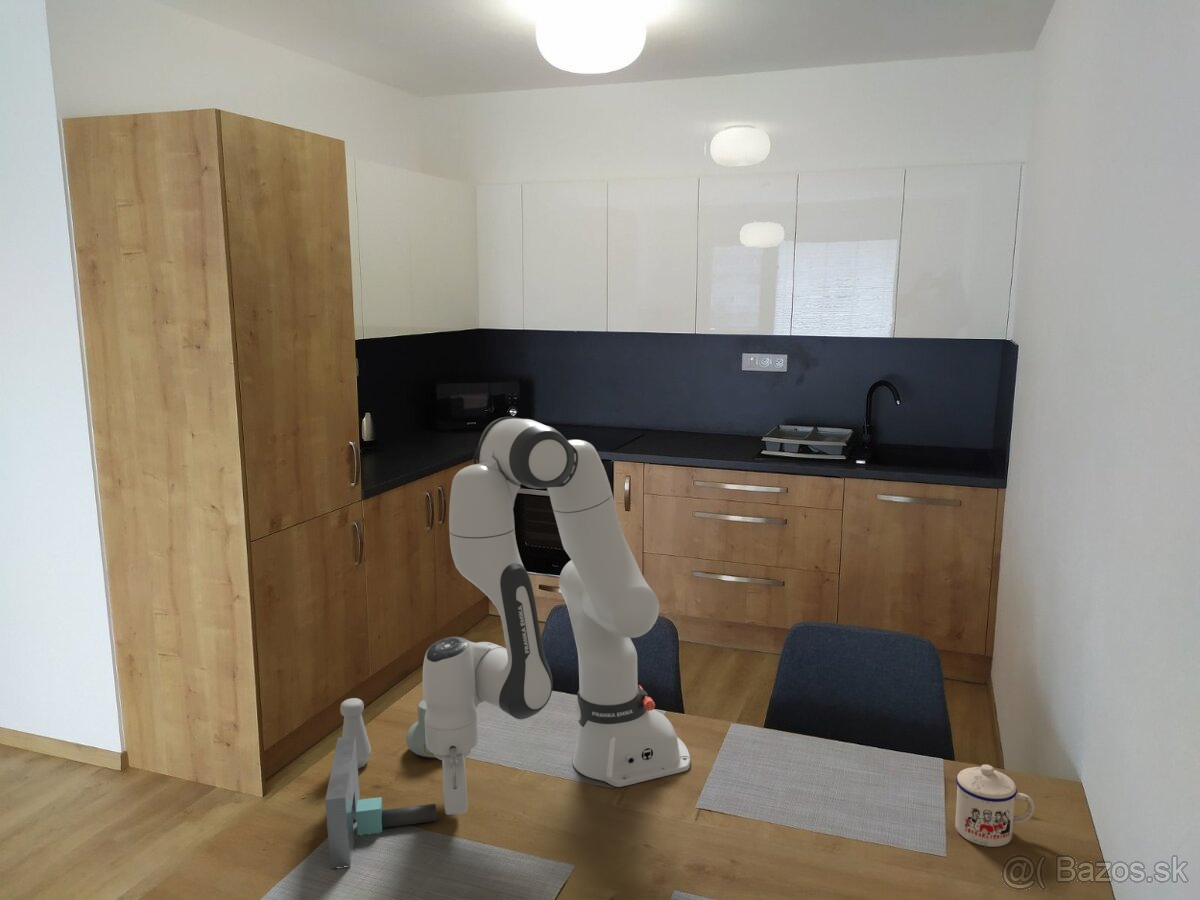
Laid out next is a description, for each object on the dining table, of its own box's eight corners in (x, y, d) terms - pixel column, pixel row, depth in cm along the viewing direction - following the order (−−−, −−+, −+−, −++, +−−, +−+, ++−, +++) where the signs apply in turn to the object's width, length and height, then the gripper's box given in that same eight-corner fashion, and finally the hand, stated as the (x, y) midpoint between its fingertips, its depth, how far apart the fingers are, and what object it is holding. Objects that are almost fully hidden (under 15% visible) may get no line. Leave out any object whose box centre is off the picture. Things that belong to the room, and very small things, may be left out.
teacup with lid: (960, 846, 141) (964, 779, 139) (948, 813, 150) (952, 750, 148) (1040, 853, 139) (1045, 786, 137) (1023, 819, 148) (1028, 756, 146)
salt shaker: (376, 756, 172) (371, 694, 170) (365, 772, 166) (361, 708, 164) (347, 755, 172) (342, 694, 170) (335, 771, 167) (331, 707, 165)
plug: (436, 813, 153) (435, 790, 152) (436, 825, 149) (435, 802, 148) (359, 823, 150) (357, 799, 149) (357, 835, 147) (355, 811, 146)
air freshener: (456, 734, 180) (454, 689, 178) (467, 753, 173) (465, 706, 171) (403, 746, 176) (400, 700, 174) (412, 766, 168) (409, 718, 166)
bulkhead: (359, 797, 158) (355, 735, 156) (350, 866, 139) (345, 797, 137) (342, 799, 157) (337, 737, 155) (330, 869, 138) (325, 800, 136)
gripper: (474, 762, 139) (477, 841, 142) (467, 705, 159) (471, 775, 161) (433, 767, 138) (437, 847, 140) (432, 708, 158) (436, 779, 160)
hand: (455, 808), depth 151 cm, fingers closed
